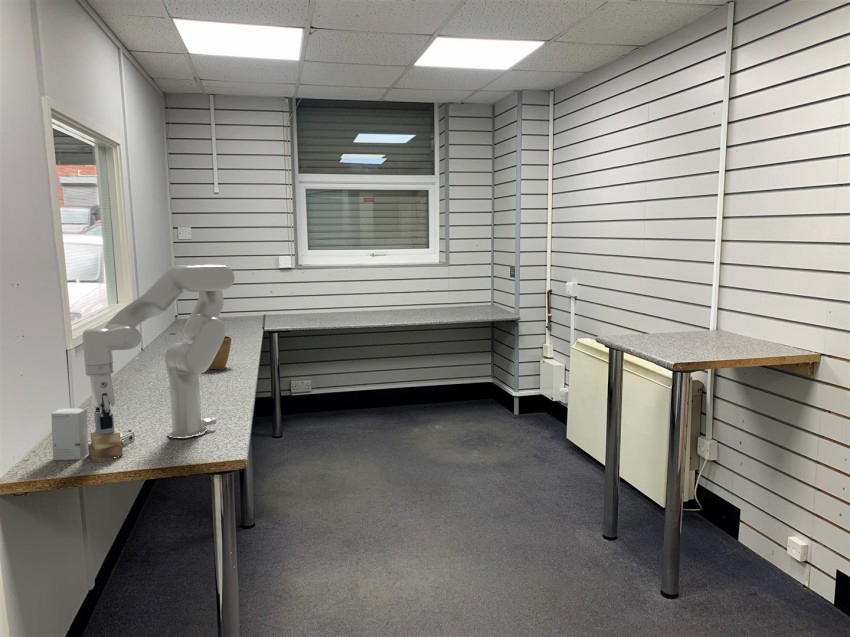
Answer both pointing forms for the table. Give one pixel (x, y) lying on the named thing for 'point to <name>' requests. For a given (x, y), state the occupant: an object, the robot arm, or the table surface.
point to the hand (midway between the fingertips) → (104, 425)
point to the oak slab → (105, 439)
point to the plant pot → (222, 354)
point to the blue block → (97, 425)
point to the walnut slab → (104, 453)
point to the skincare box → (69, 434)
